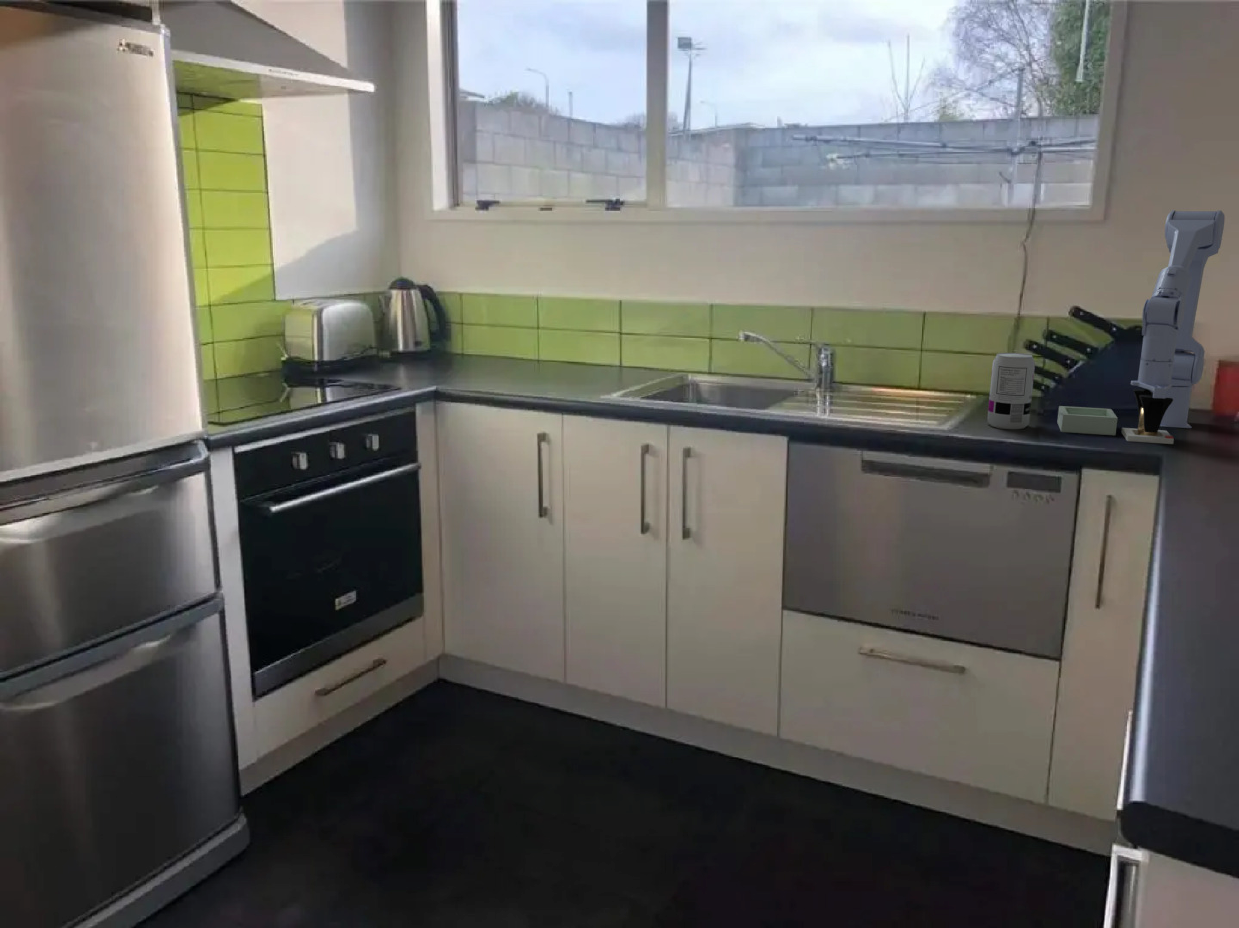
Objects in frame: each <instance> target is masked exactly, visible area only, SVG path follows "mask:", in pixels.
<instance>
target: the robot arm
mask: <svg viewBox="0 0 1239 928" xmlns="http://www.w3.org/2000/svg"><path fill="white" fill-rule="evenodd" d="M1225 221H1226V219H1225V213H1224V212H1223V211H1222V210H1219V209H1218V210H1217V211H1215V210H1213V211H1211V210H1210V211H1209V210H1208V211H1207V210H1206V211H1205V210H1204V211H1203V210H1202V211H1201V210H1189V211H1188V210H1183V211H1182V210H1179V211H1178V210H1174V209H1173V210H1170V212H1169V213H1168V214H1167V217H1166V219H1165V225H1164V239H1165V240H1166V246H1167V249H1168V252H1169V253H1170V256H1169V260H1168V265H1167V267H1164V268H1163V269H1161V270H1160V272H1159V273H1158V276H1157V279H1156V282H1155V286H1154V288H1153V291H1152V295H1151V297H1150V299H1145V302H1144V305H1143V308H1142V315H1141V317H1142V318H1141V319H1142V320H1141V321H1142V322H1141V323H1142V328H1141V336H1143V338H1142V347H1141V354H1140V355H1141V356H1140V362H1139V368H1138V369H1139V370H1138V377H1137V380H1131V381H1130V385H1131V386H1135V387H1136V386H1137V387H1140V388H1134V389H1132V391H1133V393H1134V394H1133V395H1134V396H1135V400H1136V404H1137V415H1138V419H1139V417H1140V409H1141V407H1143V413H1144V430H1145V432H1154V433H1157V431H1158V430H1160V427H1168V428H1182V429H1192V426H1191V425H1190V424H1189V423H1188V417H1189V409H1190V402H1191V397H1192V395H1191V394H1192V388H1193V385H1197V383H1199V382H1200V380H1201V378H1202V375H1203V370H1204V366H1205V365H1204V364H1205V359H1204V358H1205V353H1206V352H1205V349H1204V346H1203V344H1201V343H1200V342H1198V341H1197V340H1196V339H1195V338H1194V337H1193V333H1194V328H1195V327H1194V326H1195V322H1196V316H1197V311H1198V303H1199V299H1200V293H1201V287H1202V280H1203V275H1204V269H1205V267H1206V265H1207V262H1208V260H1209V258H1210V257H1212V256H1215V255H1216V254H1218V253H1219V249H1221V244H1222V240H1223V239H1222V238H1223V234H1224V228H1225ZM1188 352H1189V353H1188ZM1191 352H1192V353H1191Z"/></svg>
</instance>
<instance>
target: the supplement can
mask: <svg viewBox="0 0 1239 928" xmlns="http://www.w3.org/2000/svg"><path fill="white" fill-rule="evenodd" d="M1035 369H1036V362H1035V360H1034V358H1033V355H1032V354H1029V353H1019V352H1000V353H998V352H997V353H996V356H995V357H994V359H993V361H992V366H991V374H990V375H991V376H990V377H991V379H990V387H989V395H988V396H989V397H988V398H989V399H988V407H987V408H988V409H987V419H986V421H987V423H989V425H990V426H991V427H993V428H998V429H1004V430H1022V429H1025V428H1026V427H1027V426H1029V424H1030V418H1031V406H1032V398H1033V387H1034V376H1035Z"/></svg>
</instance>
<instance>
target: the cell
mask: <svg viewBox="0 0 1239 928" xmlns="http://www.w3.org/2000/svg"><path fill="white" fill-rule="evenodd" d="M1137 426H1138V427H1137V429H1138V432H1137V435H1146V436H1157V433H1158V431H1157V433H1154V432H1145V430H1144V413H1143V407H1141V409H1140V417H1139V418H1138V425H1137Z"/></svg>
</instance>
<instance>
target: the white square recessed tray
mask: <svg viewBox="0 0 1239 928" xmlns="http://www.w3.org/2000/svg"><path fill="white" fill-rule="evenodd" d="M1137 432H1138V428H1132V427H1131V428H1130V427H1122V428H1121V434H1122V436H1123V437H1124V438H1125V440H1126V441H1127V442H1135V443H1149V444H1150V443H1151V444H1168V445H1174V442H1175V439H1174V437H1173V435H1171V434H1170V433H1169V432H1168V431H1167V430H1163V429H1162V430H1161V429H1158V433H1157V436H1146V435H1137Z"/></svg>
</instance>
